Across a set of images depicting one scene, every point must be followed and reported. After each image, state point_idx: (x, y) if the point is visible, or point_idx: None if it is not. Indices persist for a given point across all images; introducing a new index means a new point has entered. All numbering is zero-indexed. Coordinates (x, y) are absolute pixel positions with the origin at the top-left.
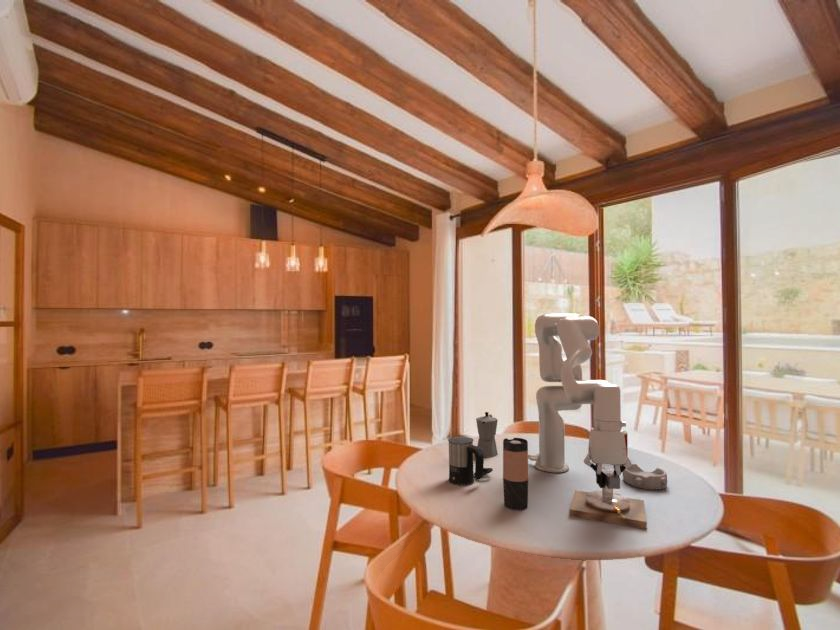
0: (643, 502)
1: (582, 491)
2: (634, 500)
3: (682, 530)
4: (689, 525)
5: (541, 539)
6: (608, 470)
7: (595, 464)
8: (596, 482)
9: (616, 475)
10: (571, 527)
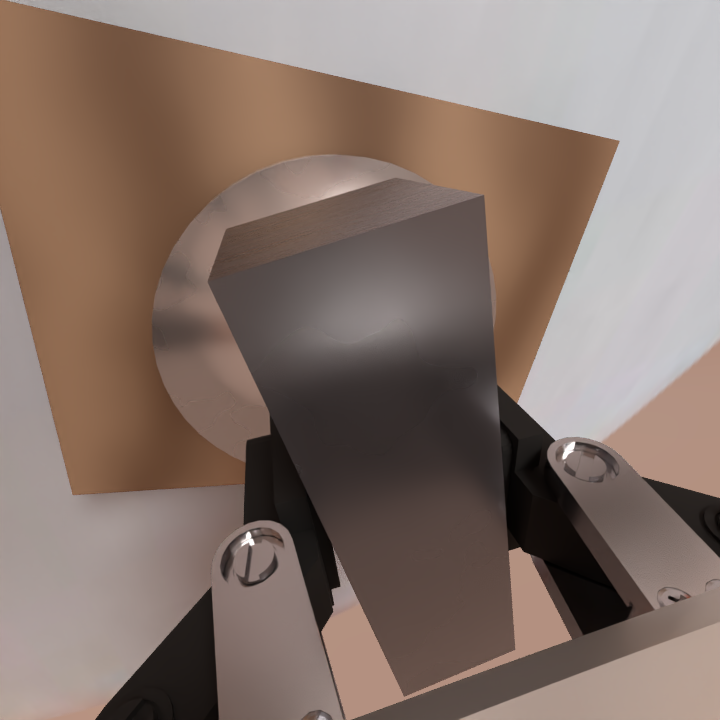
0: (594, 195)
1: (62, 20)
2: (548, 167)
3: (612, 396)
4: (671, 337)
5: (40, 680)
6: (461, 488)
7: (220, 694)
8: (249, 443)
9: (508, 603)
10: (137, 560)
